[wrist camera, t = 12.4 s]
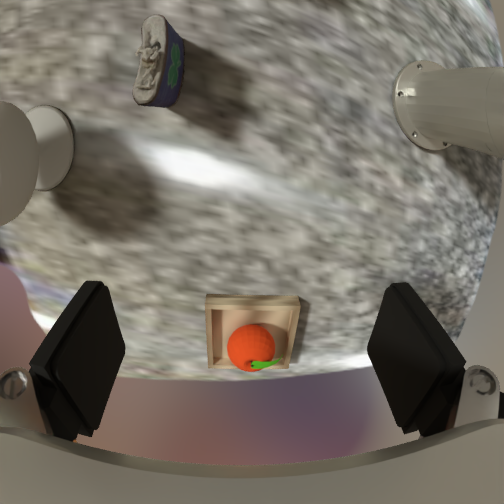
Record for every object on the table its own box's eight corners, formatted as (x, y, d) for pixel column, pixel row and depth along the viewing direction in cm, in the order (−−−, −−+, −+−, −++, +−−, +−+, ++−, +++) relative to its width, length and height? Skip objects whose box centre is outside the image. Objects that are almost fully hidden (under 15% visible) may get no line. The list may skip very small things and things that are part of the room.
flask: (164, 36, 26) (136, 8, 16) (189, 35, 26) (170, 6, 17) (156, 107, 30) (123, 106, 20) (180, 108, 30) (156, 105, 21)
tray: (297, 295, 42) (300, 305, 40) (286, 357, 48) (288, 368, 46) (206, 293, 41) (205, 304, 39) (209, 357, 47) (208, 368, 45)
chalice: (97, 121, 30) (23, 133, 17) (61, 213, 35) (-4, 263, 21) (29, 85, 26) (-48, 89, 13) (0, 171, 31) (-67, 204, 17)
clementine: (283, 315, 43) (290, 349, 36) (276, 348, 46) (281, 382, 39) (228, 313, 42) (227, 347, 36) (226, 347, 45) (225, 381, 39)
